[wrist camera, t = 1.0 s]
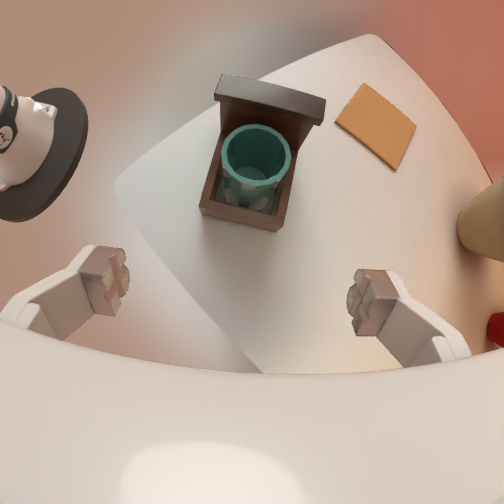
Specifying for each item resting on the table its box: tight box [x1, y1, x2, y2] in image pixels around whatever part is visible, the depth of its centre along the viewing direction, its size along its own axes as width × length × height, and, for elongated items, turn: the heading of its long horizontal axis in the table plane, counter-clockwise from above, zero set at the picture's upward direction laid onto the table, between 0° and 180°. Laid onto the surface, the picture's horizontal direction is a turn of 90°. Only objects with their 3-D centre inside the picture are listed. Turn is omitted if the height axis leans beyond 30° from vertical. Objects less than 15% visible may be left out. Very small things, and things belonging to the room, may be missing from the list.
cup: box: [221, 124, 291, 211], centre depth 30 cm, size 6×6×11 cm
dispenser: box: [199, 74, 326, 232], centre depth 29 cm, size 12×10×13 cm
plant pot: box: [457, 176, 504, 262], centre depth 31 cm, size 15×15×16 cm
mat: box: [335, 83, 416, 170], centre depth 38 cm, size 12×12×1 cm
